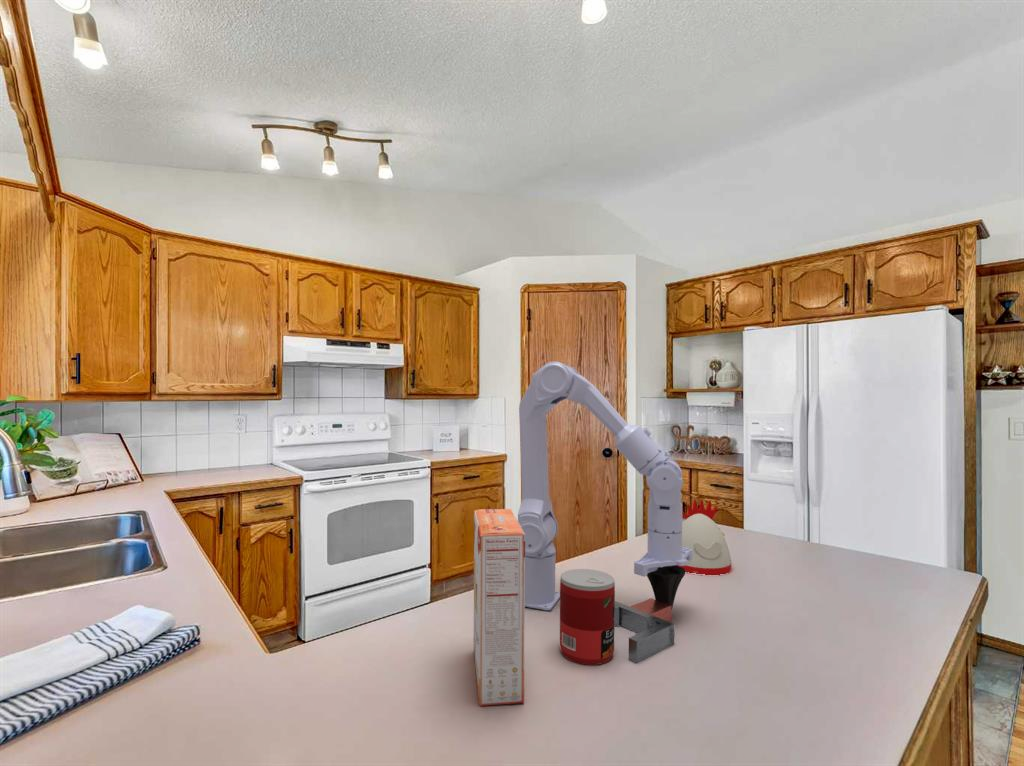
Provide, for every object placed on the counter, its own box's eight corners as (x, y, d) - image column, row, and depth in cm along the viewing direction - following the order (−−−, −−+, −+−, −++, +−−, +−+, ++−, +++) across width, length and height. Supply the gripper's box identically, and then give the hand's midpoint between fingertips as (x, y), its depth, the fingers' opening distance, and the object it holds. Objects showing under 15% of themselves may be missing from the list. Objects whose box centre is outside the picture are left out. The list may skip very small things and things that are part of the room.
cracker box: (470, 651, 75) (473, 507, 76) (511, 650, 76) (513, 507, 77) (475, 708, 62) (478, 531, 62) (525, 705, 62) (527, 531, 63)
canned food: (614, 669, 71) (614, 588, 72) (556, 662, 73) (557, 583, 73) (614, 643, 79) (615, 570, 79) (562, 638, 80) (562, 566, 81)
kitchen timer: (741, 576, 110) (741, 506, 111) (677, 575, 110) (677, 505, 111) (716, 557, 124) (716, 494, 125) (659, 556, 124) (659, 493, 125)
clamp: (630, 607, 92) (630, 590, 93) (695, 632, 83) (695, 613, 83) (570, 631, 83) (570, 612, 83) (636, 663, 73) (636, 641, 73)
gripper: (660, 541, 81) (659, 629, 81) (708, 528, 90) (708, 606, 90) (624, 532, 87) (623, 614, 86) (673, 520, 96) (672, 594, 95)
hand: (664, 609), depth 88 cm, fingers closed
